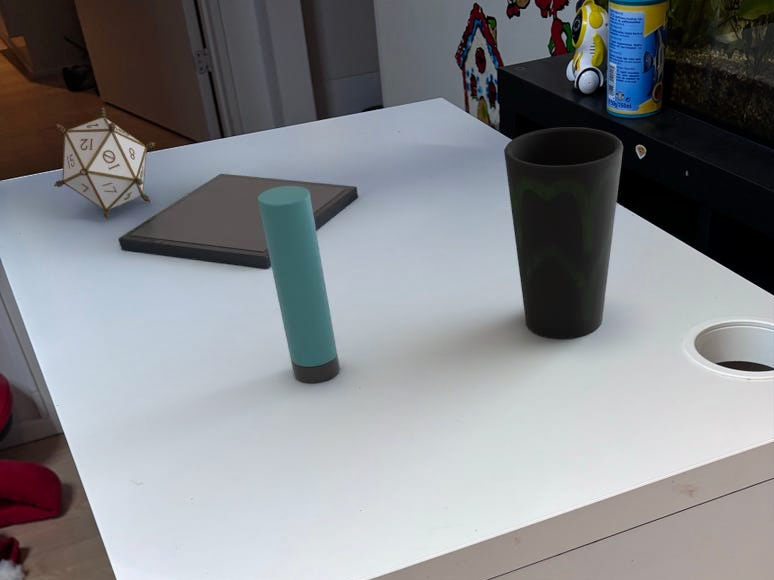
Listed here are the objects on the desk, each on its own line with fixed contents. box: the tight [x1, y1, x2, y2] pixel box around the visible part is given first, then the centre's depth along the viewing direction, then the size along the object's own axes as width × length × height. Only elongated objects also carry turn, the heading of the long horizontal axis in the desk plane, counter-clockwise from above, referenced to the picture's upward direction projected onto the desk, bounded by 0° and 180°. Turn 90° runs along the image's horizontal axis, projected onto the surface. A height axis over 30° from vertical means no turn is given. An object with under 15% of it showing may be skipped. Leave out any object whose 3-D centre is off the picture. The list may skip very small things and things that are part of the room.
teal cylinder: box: [258, 186, 340, 384], centre depth 67 cm, size 3×3×12 cm
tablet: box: [117, 173, 359, 269], centre depth 91 cm, size 15×16×1 cm
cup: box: [503, 126, 624, 340], centre depth 70 cm, size 8×8×12 cm
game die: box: [53, 106, 156, 222], centre depth 93 cm, size 9×8×10 cm
